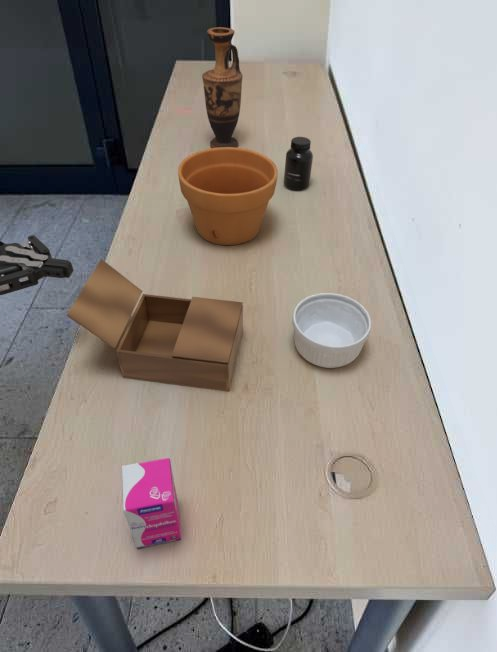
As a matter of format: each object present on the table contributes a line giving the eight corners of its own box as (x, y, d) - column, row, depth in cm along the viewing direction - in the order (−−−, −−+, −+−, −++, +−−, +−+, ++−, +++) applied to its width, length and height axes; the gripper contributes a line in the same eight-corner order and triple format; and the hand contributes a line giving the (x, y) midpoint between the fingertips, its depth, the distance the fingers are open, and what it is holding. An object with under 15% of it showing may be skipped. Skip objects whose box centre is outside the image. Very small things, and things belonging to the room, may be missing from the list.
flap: (67, 314, 72) (66, 315, 72) (115, 348, 76) (114, 348, 76) (101, 258, 82) (100, 259, 82) (142, 290, 86) (141, 291, 86)
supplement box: (136, 551, 61) (120, 510, 53) (134, 506, 65) (119, 462, 57) (182, 542, 62) (174, 500, 54) (178, 498, 66) (169, 454, 58)
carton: (229, 391, 79) (228, 362, 74) (122, 377, 81) (114, 348, 76) (242, 331, 89) (243, 302, 84) (147, 320, 91) (142, 290, 86)
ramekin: (364, 379, 81) (372, 351, 76) (286, 369, 82) (288, 341, 78) (363, 325, 90) (370, 296, 85) (293, 316, 92) (296, 288, 87)
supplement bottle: (287, 192, 125) (290, 147, 116) (280, 180, 130) (283, 135, 121) (312, 190, 126) (318, 145, 117) (305, 177, 131) (309, 133, 122)
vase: (213, 156, 139) (208, 38, 118) (200, 141, 146) (194, 27, 125) (248, 150, 142) (249, 34, 121) (234, 135, 149) (233, 23, 128)
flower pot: (292, 227, 113) (298, 167, 103) (230, 267, 102) (229, 205, 92) (227, 195, 123) (226, 138, 113) (164, 229, 112) (156, 169, 102)
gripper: (-4, 252, 84) (91, 263, 82) (-48, 303, 75) (58, 316, 73) (-20, 215, 79) (81, 225, 77) (-70, 264, 70) (44, 277, 68)
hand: (70, 269), depth 75 cm, fingers closed
